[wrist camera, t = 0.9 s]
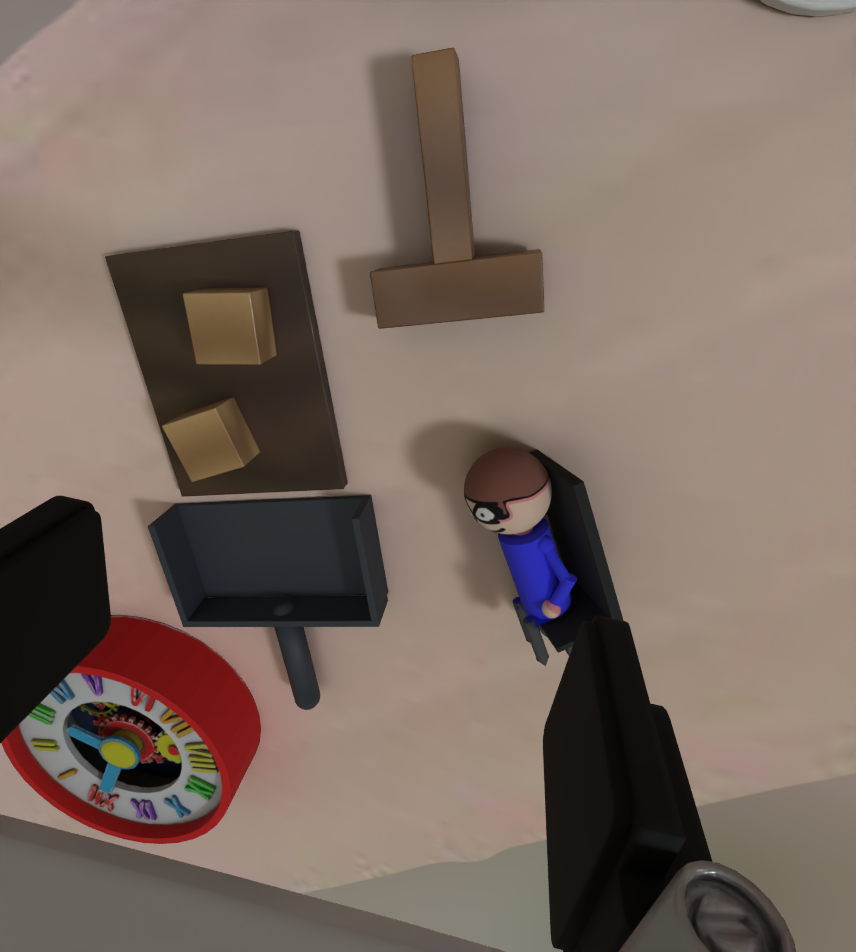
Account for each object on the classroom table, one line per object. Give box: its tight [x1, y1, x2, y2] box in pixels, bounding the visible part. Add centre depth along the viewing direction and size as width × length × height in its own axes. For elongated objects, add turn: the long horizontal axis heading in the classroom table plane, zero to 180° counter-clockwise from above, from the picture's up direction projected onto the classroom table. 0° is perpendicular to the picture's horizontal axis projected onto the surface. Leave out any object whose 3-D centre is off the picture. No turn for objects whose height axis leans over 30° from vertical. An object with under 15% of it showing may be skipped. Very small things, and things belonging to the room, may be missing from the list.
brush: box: [370, 48, 544, 329], centre depth 30 cm, size 12×9×3 cm
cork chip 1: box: [183, 287, 277, 365], centre depth 34 cm, size 4×4×2 cm
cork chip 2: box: [162, 397, 260, 482], centre depth 37 cm, size 4×4×2 cm
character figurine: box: [464, 448, 623, 666], centre depth 35 cm, size 8×7×15 cm
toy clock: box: [1, 616, 261, 844], centre depth 49 cm, size 20×6×20 cm
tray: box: [105, 231, 347, 496], centre depth 37 cm, size 16×12×1 cm
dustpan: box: [148, 495, 388, 710], centre depth 43 cm, size 18×15×3 cm
